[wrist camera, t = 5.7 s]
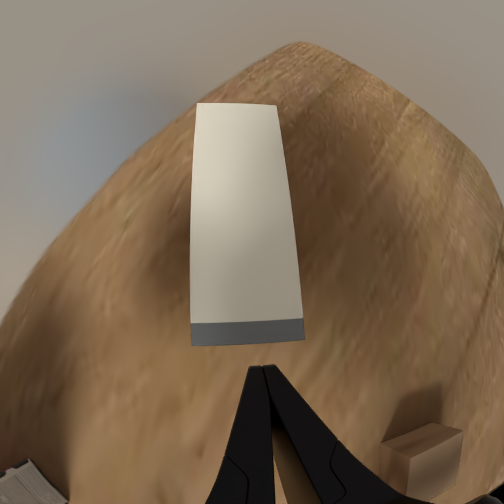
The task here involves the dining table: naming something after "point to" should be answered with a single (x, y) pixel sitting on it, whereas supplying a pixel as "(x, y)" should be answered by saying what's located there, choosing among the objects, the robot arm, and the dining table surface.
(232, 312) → the cream block
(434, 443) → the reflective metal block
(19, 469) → the candy bar box
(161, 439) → the dining table surface
